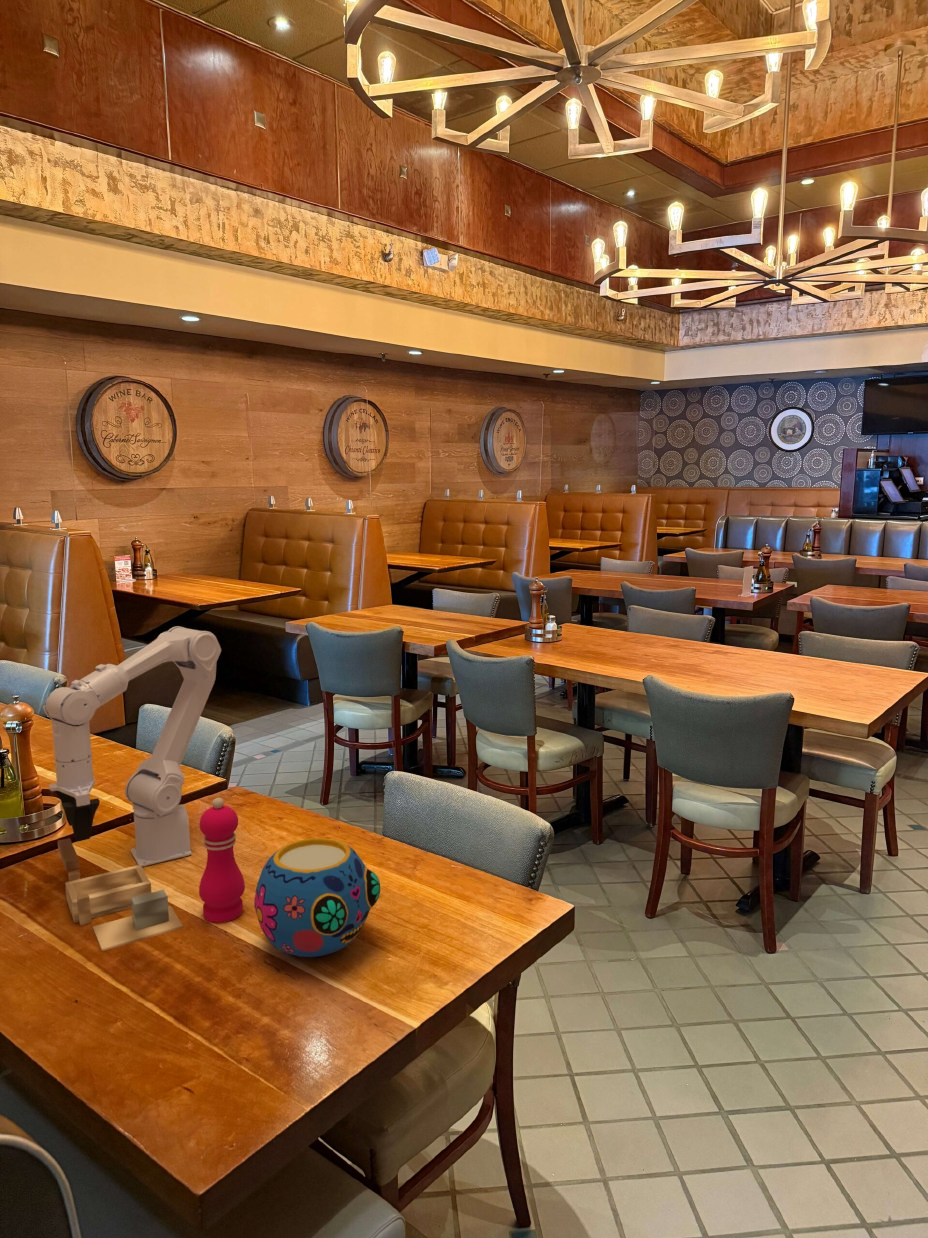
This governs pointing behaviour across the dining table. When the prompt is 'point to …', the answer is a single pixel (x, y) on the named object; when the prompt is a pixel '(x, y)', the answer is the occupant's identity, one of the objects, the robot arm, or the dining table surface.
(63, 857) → the rectangular bar
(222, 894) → the pepper mill
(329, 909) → the ceramic pot
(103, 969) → the dining table surface
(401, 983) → the dining table surface
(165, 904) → the lid
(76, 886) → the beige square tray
